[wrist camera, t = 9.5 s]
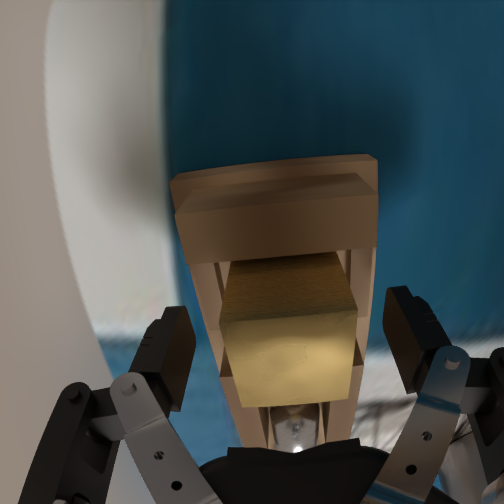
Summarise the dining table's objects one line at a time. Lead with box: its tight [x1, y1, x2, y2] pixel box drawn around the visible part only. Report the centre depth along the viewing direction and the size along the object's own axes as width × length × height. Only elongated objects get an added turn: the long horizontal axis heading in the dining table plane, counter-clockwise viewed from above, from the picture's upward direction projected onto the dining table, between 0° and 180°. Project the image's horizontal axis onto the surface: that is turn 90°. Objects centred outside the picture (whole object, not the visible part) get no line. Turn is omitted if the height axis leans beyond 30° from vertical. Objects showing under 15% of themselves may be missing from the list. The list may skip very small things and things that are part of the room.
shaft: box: [270, 403, 320, 453], centre depth 20 cm, size 4×12×4 cm, turn 8°
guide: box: [169, 154, 378, 450], centre depth 18 cm, size 9×28×5 cm, turn 8°
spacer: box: [218, 251, 358, 408], centre depth 12 cm, size 4×4×6 cm
